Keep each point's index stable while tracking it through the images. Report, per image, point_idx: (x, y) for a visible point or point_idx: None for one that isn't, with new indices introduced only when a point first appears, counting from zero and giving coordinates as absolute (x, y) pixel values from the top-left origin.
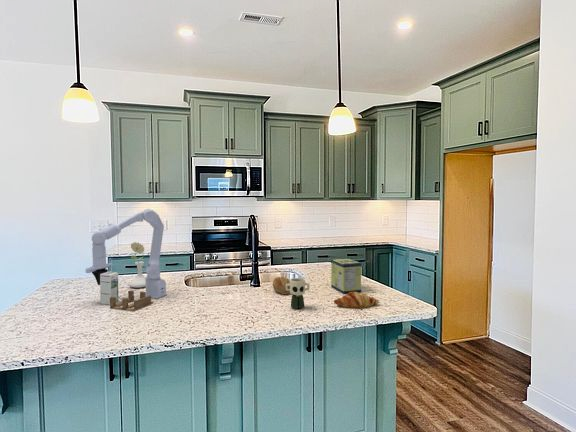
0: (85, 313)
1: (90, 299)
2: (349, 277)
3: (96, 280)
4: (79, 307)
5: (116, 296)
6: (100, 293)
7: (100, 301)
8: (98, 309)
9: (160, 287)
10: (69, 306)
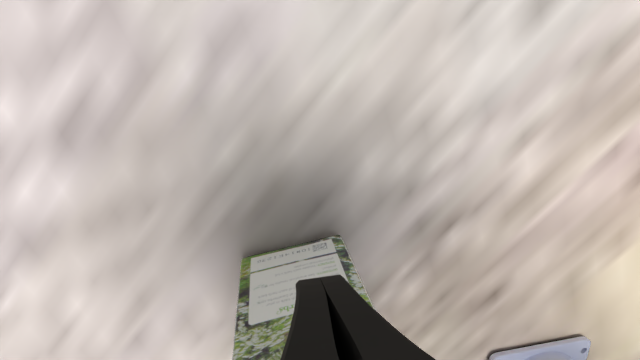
0: (14, 357)
1: (316, 31)
2: None
3: (290, 331)
4: (80, 173)
5: None
6: (235, 327)
7: (240, 270)
8: (140, 351)
9: None
10: (33, 41)
